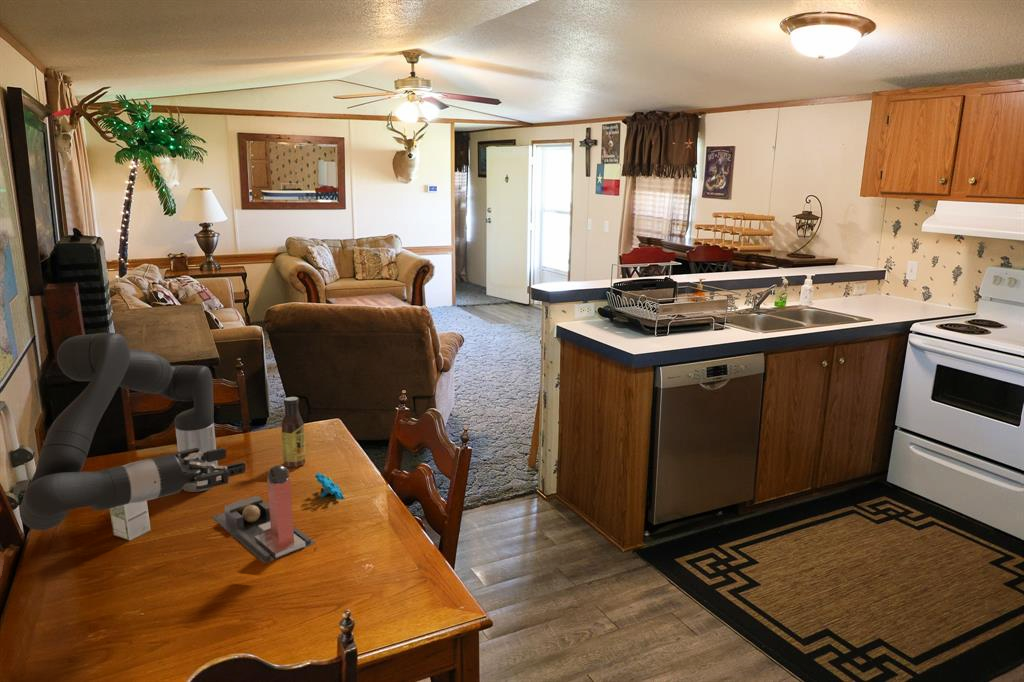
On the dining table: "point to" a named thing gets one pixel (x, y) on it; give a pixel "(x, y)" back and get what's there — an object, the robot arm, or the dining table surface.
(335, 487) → the gear
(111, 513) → the syrup box
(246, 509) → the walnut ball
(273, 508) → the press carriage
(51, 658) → the dining table surface
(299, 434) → the sauce bottle
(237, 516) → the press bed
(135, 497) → the robot arm
